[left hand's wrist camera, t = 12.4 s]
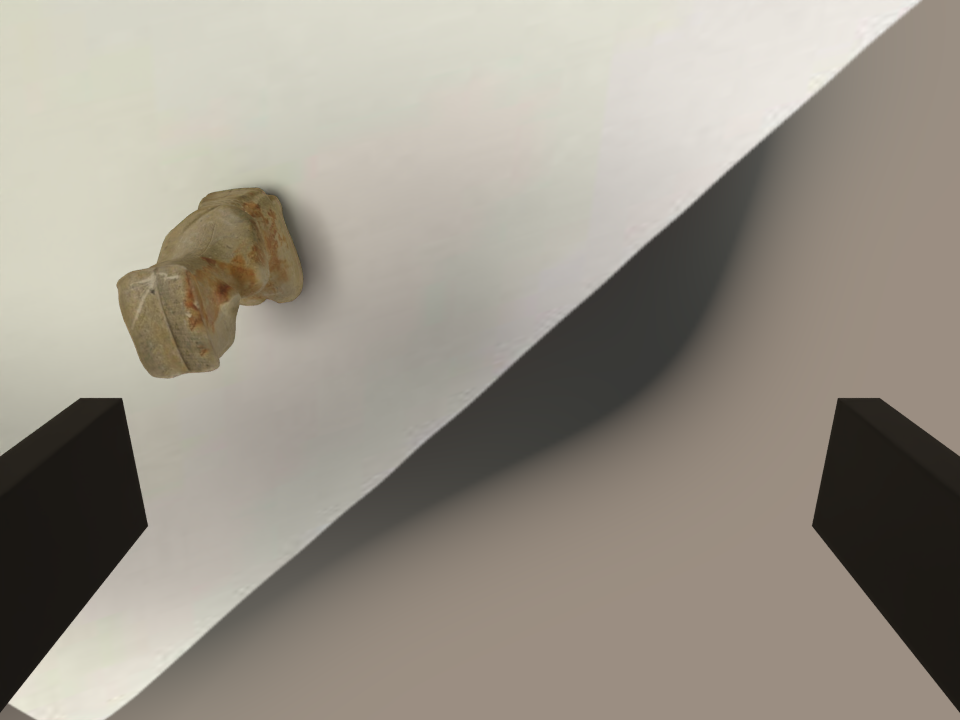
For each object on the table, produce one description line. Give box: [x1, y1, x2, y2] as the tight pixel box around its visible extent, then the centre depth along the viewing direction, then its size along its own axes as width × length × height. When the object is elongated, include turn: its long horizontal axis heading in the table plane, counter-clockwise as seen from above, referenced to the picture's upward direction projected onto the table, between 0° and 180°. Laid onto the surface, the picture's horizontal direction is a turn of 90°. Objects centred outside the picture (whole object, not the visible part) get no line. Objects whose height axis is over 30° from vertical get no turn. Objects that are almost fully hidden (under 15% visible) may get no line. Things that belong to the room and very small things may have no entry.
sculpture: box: [117, 188, 303, 378], centre depth 35 cm, size 6×7×15 cm
